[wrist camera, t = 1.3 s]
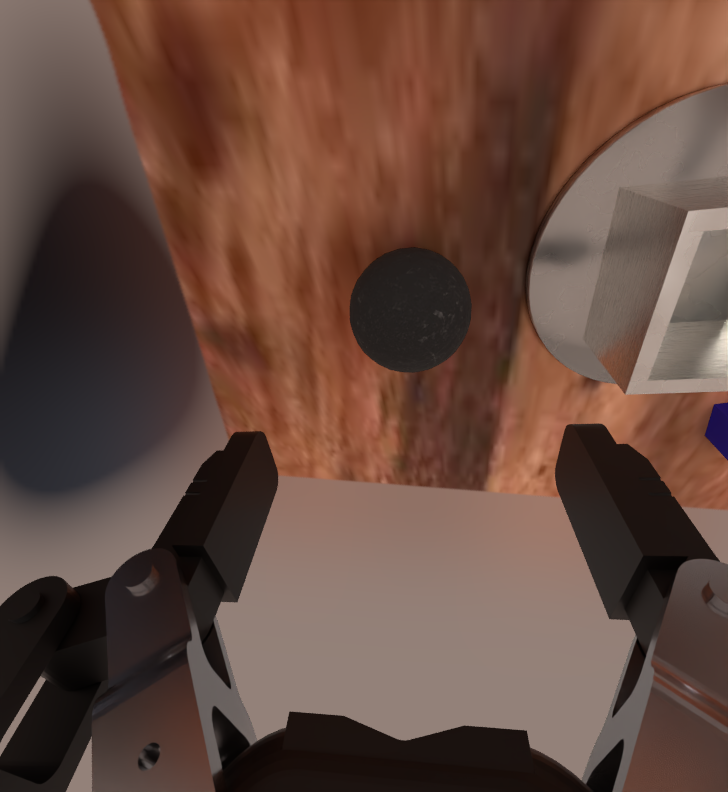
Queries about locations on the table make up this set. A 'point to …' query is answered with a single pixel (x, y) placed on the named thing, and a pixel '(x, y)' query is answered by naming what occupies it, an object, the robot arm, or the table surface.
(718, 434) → the cable clip
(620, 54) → the table surface
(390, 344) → the light bulb
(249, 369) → the table surface
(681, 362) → the lamp base
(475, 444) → the table surface
